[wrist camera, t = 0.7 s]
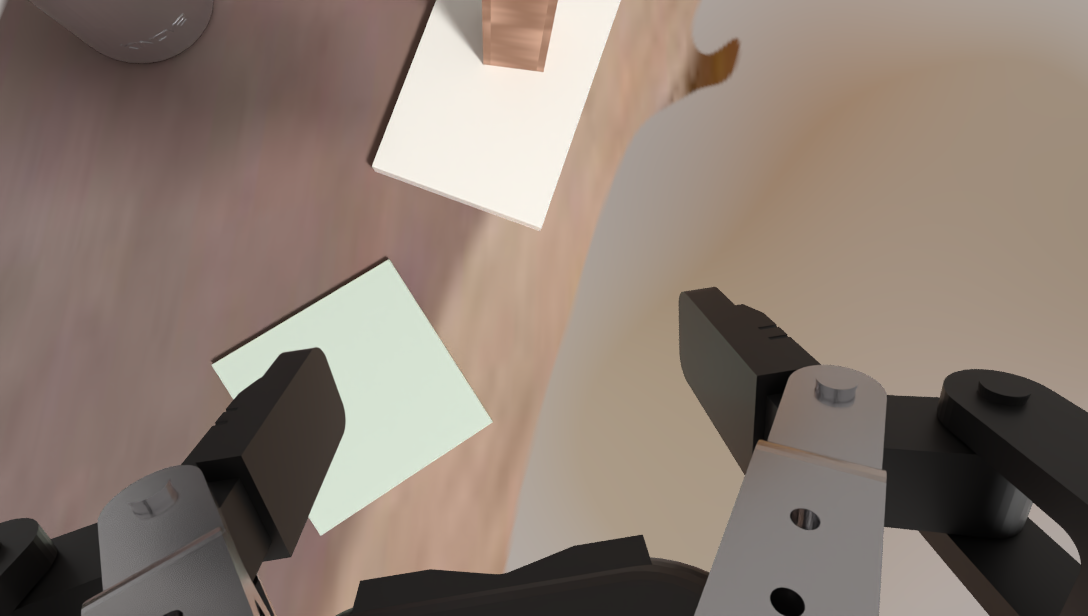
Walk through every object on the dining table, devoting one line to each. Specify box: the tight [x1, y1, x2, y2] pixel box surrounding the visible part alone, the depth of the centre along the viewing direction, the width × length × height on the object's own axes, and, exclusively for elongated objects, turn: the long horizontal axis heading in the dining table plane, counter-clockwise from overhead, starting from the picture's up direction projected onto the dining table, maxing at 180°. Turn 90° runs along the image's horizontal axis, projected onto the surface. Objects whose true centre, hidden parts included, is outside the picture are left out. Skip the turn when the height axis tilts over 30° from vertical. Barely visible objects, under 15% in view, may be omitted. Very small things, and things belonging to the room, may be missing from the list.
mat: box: [212, 259, 493, 535], centre depth 34 cm, size 13×13×1 cm
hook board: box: [372, 0, 621, 231], centre depth 33 cm, size 24×12×7 cm, turn 161°
